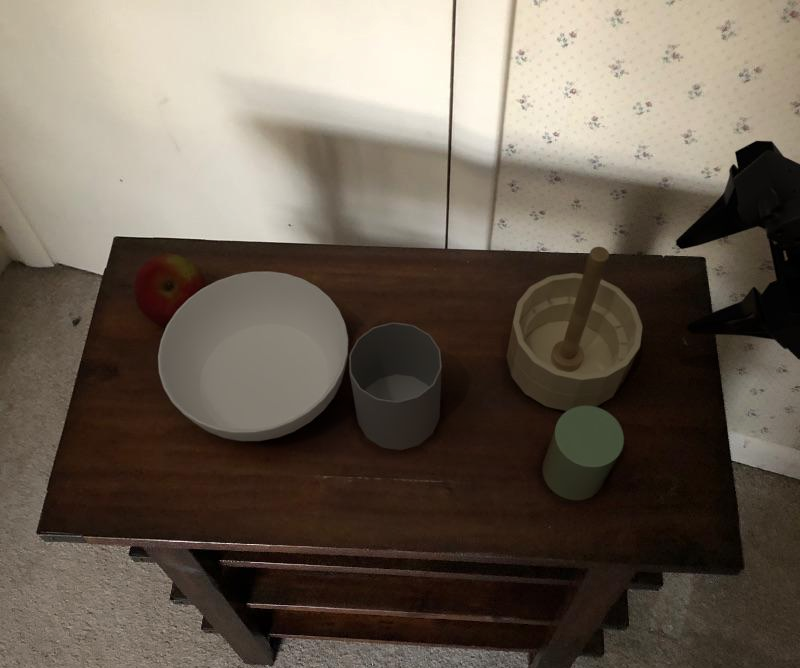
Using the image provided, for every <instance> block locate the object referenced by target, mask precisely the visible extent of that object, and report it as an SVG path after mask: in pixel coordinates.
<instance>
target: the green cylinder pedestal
mask: <svg viewBox="0 0 800 668" xmlns="http://www.w3.org/2000/svg"><path fill="white" fill-rule="evenodd" d="M624 445H625V436H624V431H623V429H622V426H621V424H620V423H619V421H618V420H617V419H616V418H615V416H613V415H612V414H611V413H610V412H608V411H607V410H605V409H603V408H600V407H599V406H596V407H594V406H578V407H574V408H572V409H570V410H568V411H565V412H564V413H562V415H561V416H560V417H559V418H558V420H557V422H556V424H555V427H554V430H553V433H552V435H551V438H550V440H549V444H548V447H547V450H546V452H545V456H544V459H543V462H542V467H541V469H542V470H541V471H542V476H543V479H544V482H545V484H546V485H547V487H548V488H549V489H550V491H552V492H553V493H554V494H555V495H557V496H559V497H561V498H563V499H566V500H569V501H583V500H587V499H589V498H592V497H594V496H595V495H597V493H598V492H599V491H600V490H601V489H602V487H603V485H604V483H605V482H606V479H607V478H608V476H609V475H610V472H611V470H612V469H613V467H614V465H615V463H616V462H617V460H618V458H619V456H620V455H621V453H622V451H623V448H624Z"/></svg>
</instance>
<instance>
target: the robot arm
mask: <svg viewBox="0 0 800 668" xmlns="http://www.w3.org/2000/svg"><path fill="white" fill-rule="evenodd" d="M734 155H735V160H736V164H734V163H733V164H731V165H730V167H729V169H728V172H729V176H728V179H727V181H726V185H725V188H724V191H723V193H722V194H721V195H720V196H719V198H718V199H717V200H716V201H715V202H714V203H713V205H711V206H710V208H709V209H707V210H706V211H705V212H704V213H703V214H702V215H701V216H700V217H699V218H697V219H696V220H695V222H693V224H691V225H690V227H688V229H686V230H685V231H684V232H683V233H682V234H681V235H679V237H678V238H677V239H676V240H675V245H676V246H677V247H678V248H679V249H681V250H685V249H689V248H693V247H698V246H702V245H705V244H708V243H710V242H714V241H717V240H720V239H723V238H726V237H729V236H733V235H735V234H738V233H739V234H740V233H741V232H745V231H748V230H751V229H754V228H757V227H758V228H761V229H762V230H763V229H764V230H765V234H766V239H767V240H768V244H769V249H770V254H771V259H772V264H773V270H774V275H775V279H776V280H774V281H771V282H769V283H768V284H767V286H766V287H765V289H764V290H763V292H761V291H760V290H759V289H757V287H756V286H753V287H752V288H750V290H749V291H748V293H746V295H745V297H744V298H743V299H742V300H740V301H739V302H736V303H733V304H730V305H728V306H726V307H723V308H721V309H718V310H715V311H713V312H710V313H707V314H705V315H703V316H700V317H698V318H696V319H693V320H692V321H691V322H688V323H686V325H685V328H686V330H687V331H688V332H689V333H690V334H696V335H716V336H717V335H719V336H720V335H721V336H742V337H752V338H759V339H767V340H771V341H772V340H774V341H775V342H776V343H777V344H778V345H779V346H780V347H781V348H782V349H784V350H788V351H789V352H790V353H791V354H792V355H793V356H794V357H795V358H796V359H797V360H798V361H800V162H797V161H795V160H792V159H790V158H788V157H786V156H784V155H783V153H782V152H781V151H780V149H779V148H778V147H777V146H776V145H775V143H774V142H773V141H772V140H755V141H753V142H751V143H749V144H747V145H745V146H743V147H742V148H740V149H737V150H736V151H735V152H734ZM785 256H786V257H785ZM786 258H787V259H786Z"/></svg>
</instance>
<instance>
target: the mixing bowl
mask: <svg viewBox="0 0 800 668" xmlns="http://www.w3.org/2000/svg"><path fill="white" fill-rule="evenodd" d="M583 274H584V273H577V272H570V273H562V274H555V275H549V276H548V277H545V278H544V279H542V280H539V281H538V282H535V283H534V284H532V285H530V286H529V287H528V288H527V290H526V291H525V293H523V295H522V296H521V297H520V298H519V300H518V301H517V303H516V308H515V311H514V315H513V319H512V324H511V325H512V326H511V331H510V336H509V341H508V345H507V352H506V359H507V365H508V368H509V372H510V377H511V378H512V379H513V380H514V382H515V383H516V384H517V386H518V387H519V389H521V391H522V392H523V394H524V395H525V396H528V397H529V398H531V399H533V400H534V401H535V402H537V403H539V404H541V405H543V406H544V407H545V408H550V409H555V410H561V411H565V412H566V411H568V410H570V409H572V408H574V407H578V406H594V407H599V406H600V405H602V404H603V403H605V402H607V401H608V400H611V399H612V398H614V396H615V395H616V393H617V392H618V390H619V389H620V388H621V386H622V385H623V383H624V382H625V380H626V378H627V376H628V374H629V371H630V370H631V367H632V365H633V363H634V361H635V359H636V357H637V354H638V352H639V350H640V348H641V343H642V342H641V341H642V334H643V324H642V323H643V322H642V320H641V317H640V315H639V311H638V309H637V307H636V305H635V304H634V302H632V300H631V299H630V298H629V297H628V296H627V295H626V294H625V293H624V291H622V290H621V288H620V287H618V286H616V285H614V284H612V283H610V282H608V281H607V280H604V279H601V282H600V285H599V288H598V290H597V293H596V296H595V299H594V302H593V305H592V308H591V311H590V314H589V317H588V320H587V323H586V326H585V329H584V332H583V335H582V338H581V341H580V344H579V345H580V346H581V348H582V350H583V353H584V356H583V360H582V363H581V365H580V366H579V368H578V369H576V370H574V371H571V372H566V371H561V370H558V369H557V368H556V367H555V366H554V365H553V364H552V362H551V353H552V350H553V347H554V346H555V344H557V343H558V342H560V341H563V340H564V337H565V334H566V330H567V327H568V324H569V321H570V317H571V314H572V311H573V307H574V304H575V301H576V297H577V294H578V291H579V287H580V284H581V281H582V277H583Z"/></svg>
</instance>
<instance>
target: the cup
mask: <svg viewBox="0 0 800 668" xmlns="http://www.w3.org/2000/svg"><path fill="white" fill-rule="evenodd" d="M441 355H442V354H441V349H440V347H439V346H438V344H437V343H436V341H435V340H434V338H433V337H432V336H431V334H430V333H428V332H426V331H424V330H422V329H421V328H419V327H417V326H415V325H414V324H407V323H400V322H389V323H384V324H381V325H376V326H373V327H372V328H370V329H369V330H367V331H366V332H365V333H364V334H362V335H361V336H359V337H358V338H357V339H356V341H355V343H354V345H353V347H352V349H351V351H350V353H349V354H348V358H349V359H348V360H349V378H350V383H351V389H352V395H353V401H354V407H355V413H356V420H357V424H358V426H359V427H360V429H361V431H362V433H363V434H364V436H365V438H366V439H367V440H369V441H371V442H373V444H375V445H377V446H379V447H380V448H383V449H390V450H396V451H403V450H407V449H410V448H414V447H418V446H420V445H422V443H424V442H425V441H426V440H428V438H429V437H431V436H432V435H433V434H434V432H435V429H436V427H437V425H438V423H439V420H440V417H441V416H440V414H441V391H442V373H443V371H442V370H443V369H442V356H441Z"/></svg>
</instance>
